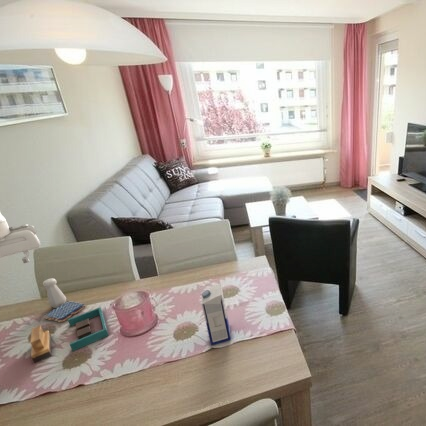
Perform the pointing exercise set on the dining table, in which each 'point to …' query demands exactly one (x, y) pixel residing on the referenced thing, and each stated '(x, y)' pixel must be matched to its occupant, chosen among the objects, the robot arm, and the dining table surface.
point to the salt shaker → (54, 293)
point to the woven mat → (64, 311)
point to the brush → (40, 344)
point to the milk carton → (215, 315)
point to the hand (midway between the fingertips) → (8, 267)
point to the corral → (93, 336)
